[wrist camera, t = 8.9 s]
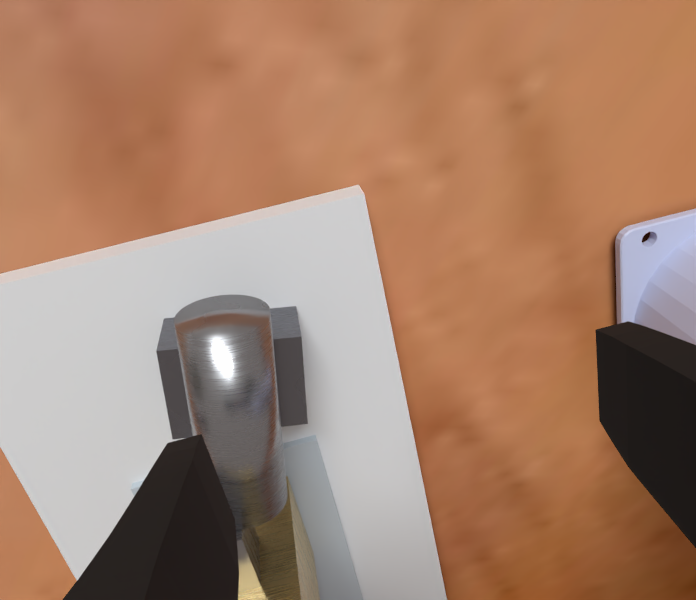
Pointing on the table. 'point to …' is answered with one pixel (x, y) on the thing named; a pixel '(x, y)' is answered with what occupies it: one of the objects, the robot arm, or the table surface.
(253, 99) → the table surface
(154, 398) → the bench
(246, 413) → the shaft
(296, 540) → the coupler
